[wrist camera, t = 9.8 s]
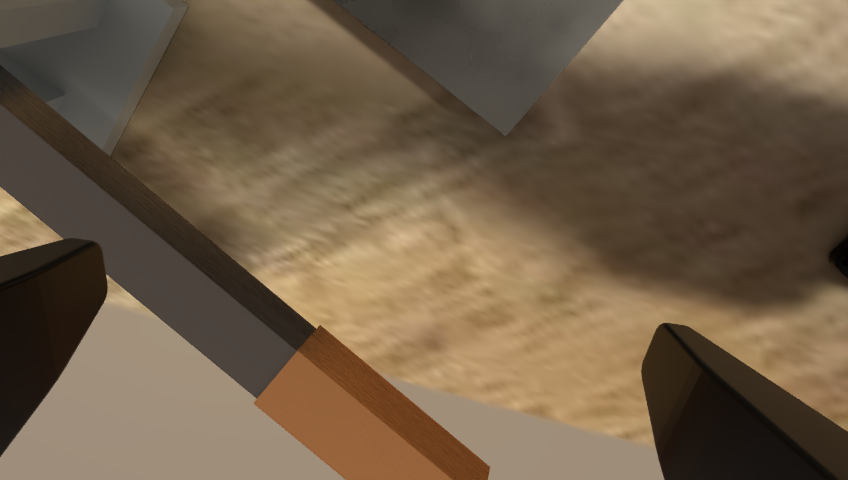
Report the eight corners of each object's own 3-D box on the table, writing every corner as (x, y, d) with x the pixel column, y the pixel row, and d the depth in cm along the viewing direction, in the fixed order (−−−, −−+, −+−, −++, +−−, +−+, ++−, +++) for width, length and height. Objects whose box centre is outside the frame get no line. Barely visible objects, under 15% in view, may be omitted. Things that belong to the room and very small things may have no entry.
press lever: (515, 417, 16) (502, 530, 12) (430, 491, 18) (395, 610, 14) (-206, -189, 15) (-457, -268, 12) (-229, -57, 17) (-458, -89, 13)
